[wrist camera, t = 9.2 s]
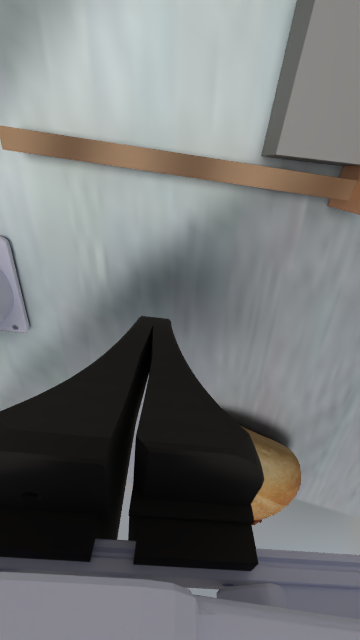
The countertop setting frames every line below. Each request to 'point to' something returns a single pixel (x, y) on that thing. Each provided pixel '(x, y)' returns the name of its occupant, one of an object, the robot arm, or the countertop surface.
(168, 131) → the countertop surface
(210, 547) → the robot arm
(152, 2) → the countertop surface
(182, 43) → the countertop surface
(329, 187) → the rail lane
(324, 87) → the block
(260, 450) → the bread roll
